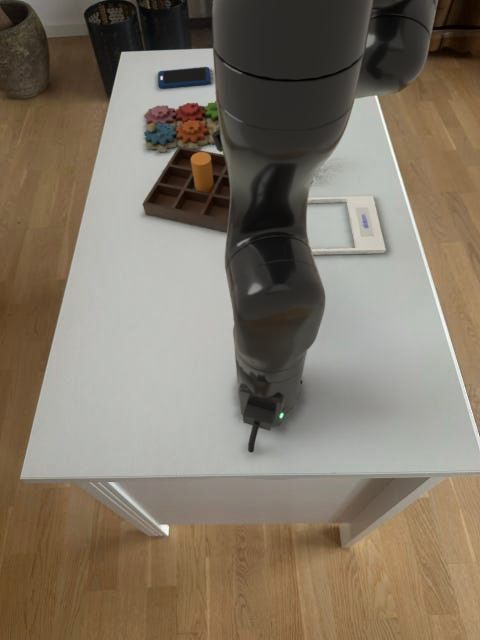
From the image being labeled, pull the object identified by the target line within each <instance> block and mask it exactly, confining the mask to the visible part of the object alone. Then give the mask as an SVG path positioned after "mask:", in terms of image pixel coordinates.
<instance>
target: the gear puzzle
mask: <svg viewBox="0 0 480 640" xmlns="http://www.w3.org/2000/svg"><path fill="white" fill-rule="evenodd" d="M143 117H144V119H145V128H146V130H145V131H144V132H143V134H144V136H145V138H144V139H145V146H146V149H147V150H150V151H151V150H157V153H164V152H168V149H170V148H177V147H184V148H186V147H187V148H190V149H195V150H199V146H204V145H208V144H210V145H213V144H214V140H213V138H212V134H213V133H214V132H216V131H217V130H219V120H218V112H217V103H216V100H215V101H214V102H208V103H207V105H206V106H204V105H199V103H198V102H192V103H191V102H186V104H183V105H178V108H176V109H175V108H172V107H169V106H168V105H155V106H154V107H152V108H148V110H147V111H146V113H145V114H144V116H143ZM214 145H215V144H214Z"/></svg>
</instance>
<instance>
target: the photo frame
mask: <svg viewBox="0 0 480 640" xmlns="http://www.w3.org/2000/svg"><path fill="white" fill-rule="evenodd" d="M325 203H326V204H327V203H328V204H329V203H346V207H347V212H348V213H347V214H348V217H349V223H350V228H351V233H352V239H353V245H354V247H336V248H335V247H332V248H311V251H312V254H313V256H317V255H319V256H320V255H323V256H325V255H358V254H361V255H363V254H385V253H386V250H387V249H386V245H385V240H384V237H383V236H384V235H383V232H382V229H381V228H382V227H381V224H380V220H379V219H380V218H379V215H378V212H377V207H376V202H375V199H374V195H353V196H350V195H348V196H346V195H345V196H319V197H318V196H315V197H310V196H309V197H308V204H325Z"/></svg>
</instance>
